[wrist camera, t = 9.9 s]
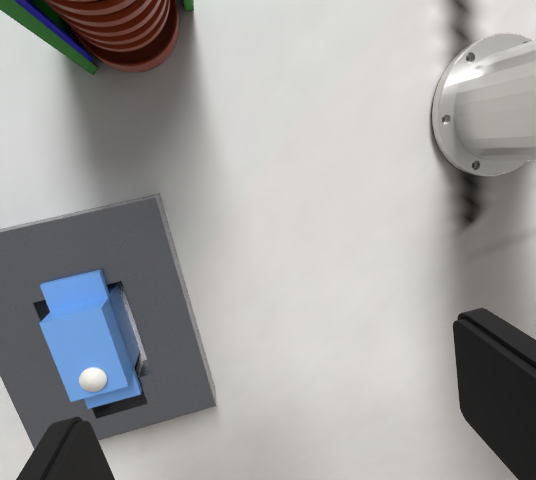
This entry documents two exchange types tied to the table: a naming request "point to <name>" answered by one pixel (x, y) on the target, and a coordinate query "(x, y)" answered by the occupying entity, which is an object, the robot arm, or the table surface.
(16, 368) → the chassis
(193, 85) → the table surface
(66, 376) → the servo
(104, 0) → the motor
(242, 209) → the table surface
